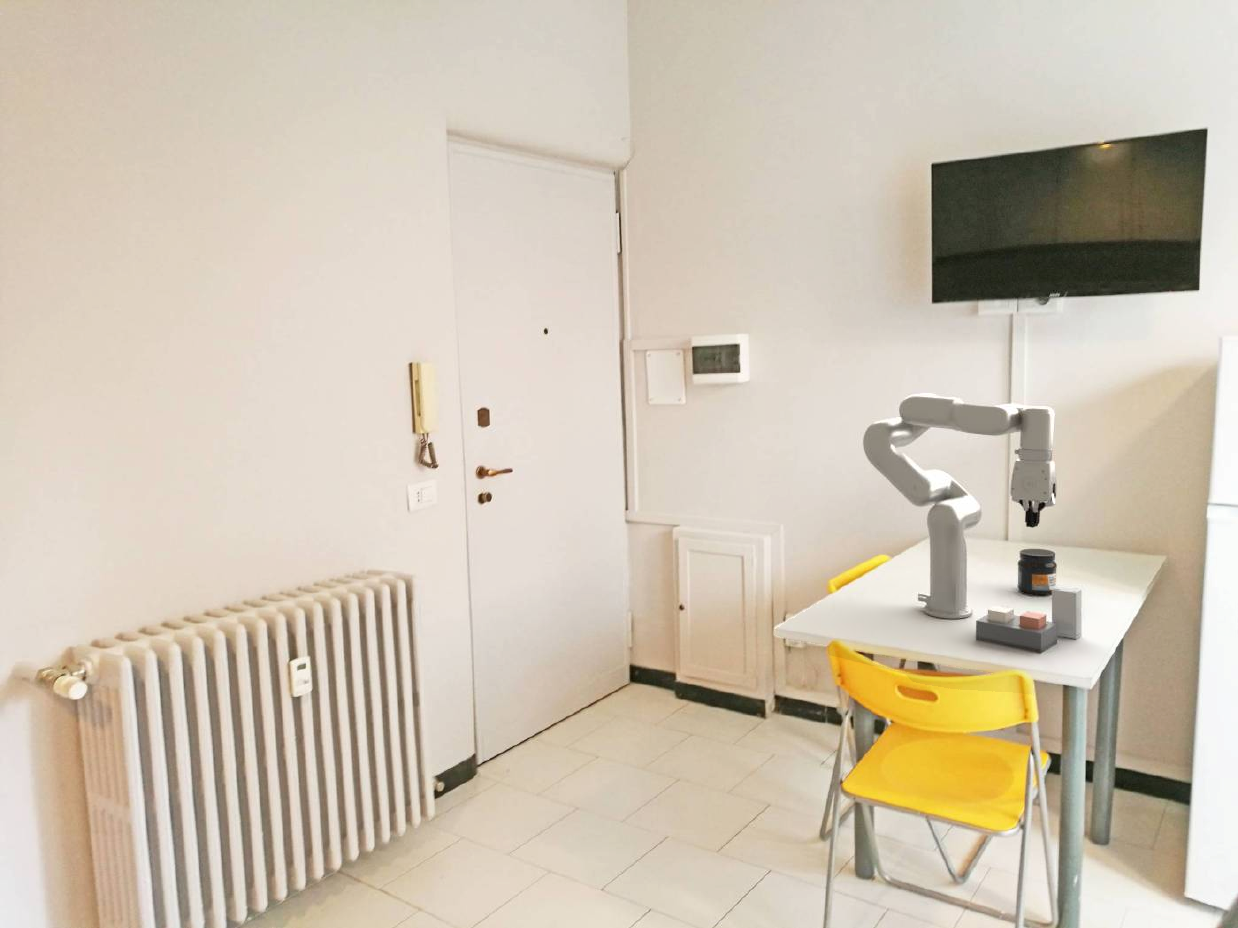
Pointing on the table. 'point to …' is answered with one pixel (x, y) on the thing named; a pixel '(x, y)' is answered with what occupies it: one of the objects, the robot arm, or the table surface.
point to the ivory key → (1001, 614)
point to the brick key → (1033, 620)
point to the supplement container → (1036, 572)
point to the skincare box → (1067, 611)
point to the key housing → (1017, 634)
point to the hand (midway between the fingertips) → (1032, 526)
